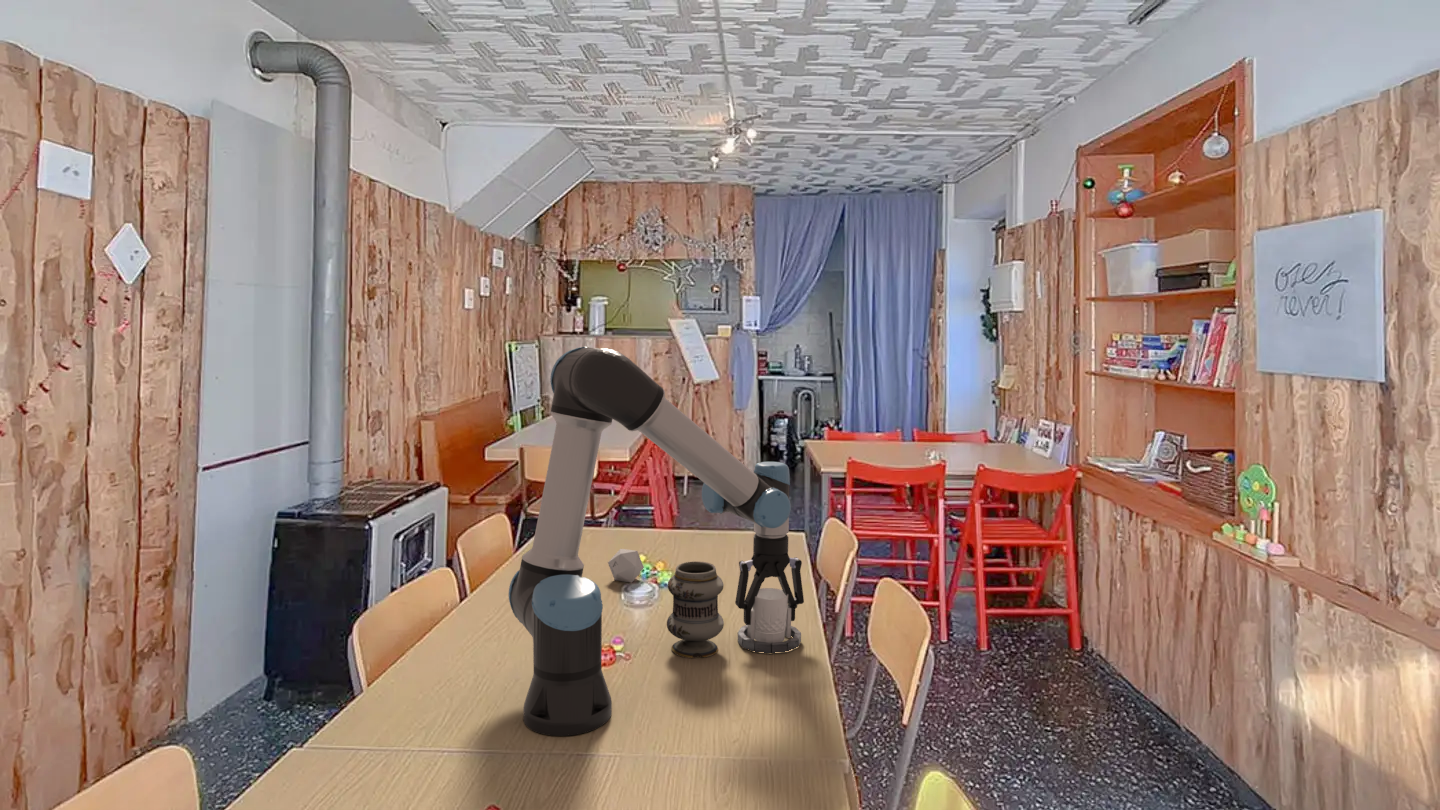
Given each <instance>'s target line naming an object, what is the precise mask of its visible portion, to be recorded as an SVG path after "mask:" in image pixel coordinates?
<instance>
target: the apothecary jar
mask: <svg viewBox="0 0 1440 810" xmlns="http://www.w3.org/2000/svg"><path fill="white" fill-rule="evenodd" d="M724 585H725V584H724V581H723V579H722V578H721V577H720V576H719V575H718V573H717V568H716V566H715V565H714V564H713V563H711V562H706V561H694V560H693V561H686V562H681V563H680V564H677V566H676V567H675V572H674V575H672V576H671V577H670V578H669V580H668V582H667V590H668V591H669V593H670V594H671V595H672V596H673V597H672V598H673V599H672V600H673V601H672V613H671V614H670V615H668V618H667V620H666V627H667V630H668V632H669V633H670V634H671V635H673V636H674V637H676V638H677V639H680V640H678V641H676V642H674V643H673V644H672V646H671V651H672V653H673V654H675V655H677V656H679V657H682V658H687V659H696V658H701V659H703V658H710V657H712V656H714V655H715V654H717V652H718V651H719V648H718V645H717V644H716V643H715V642H713V641H711V639H714V638H716V636H718V635H719V634H720V633H721V632H722V631H723V629H724V626H725V622H724V618H723V616H722V615H721V614H720V613H719V602H718V601H719V600H718V599H719V598H718V597H719V595H720V594H721V593H722V591H724Z"/></svg>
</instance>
